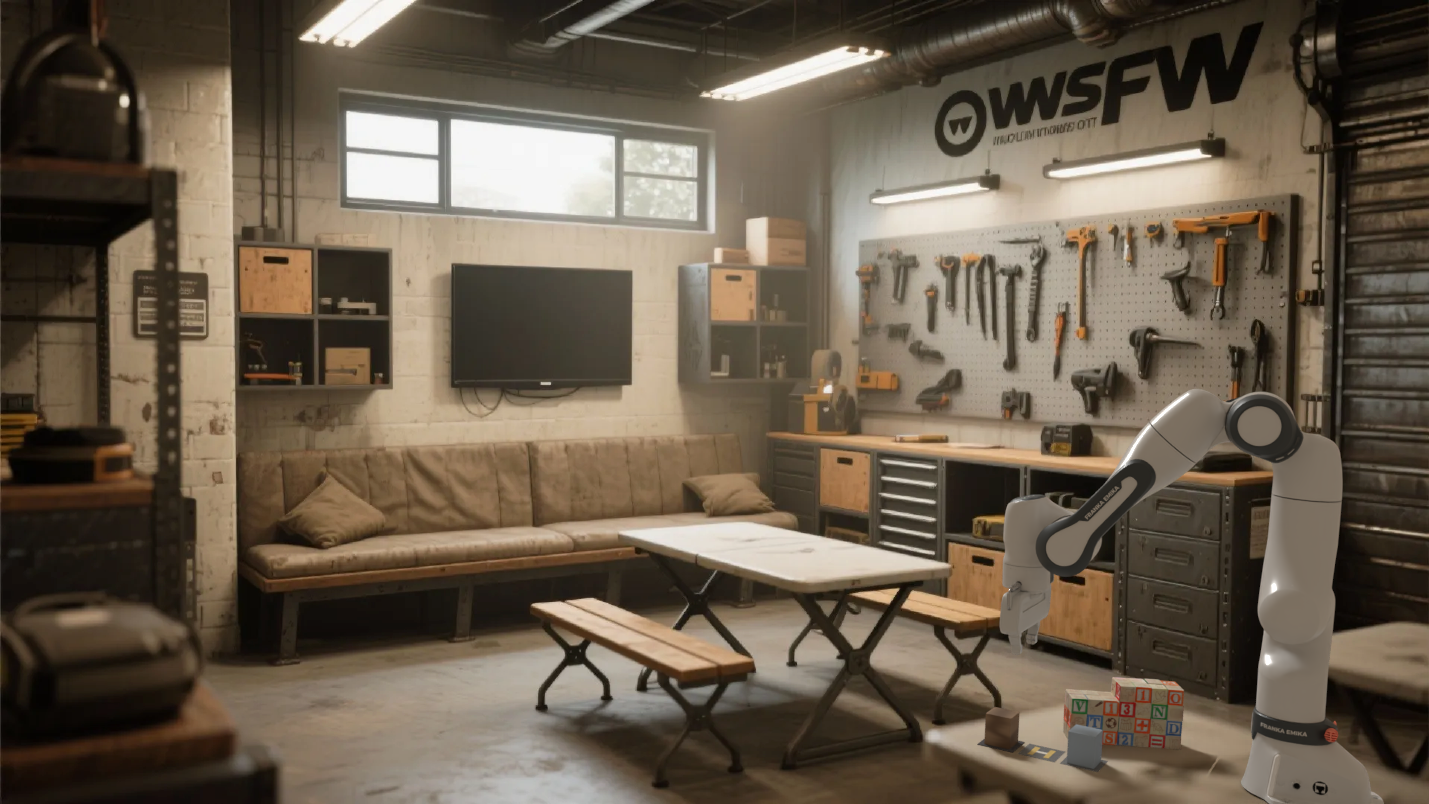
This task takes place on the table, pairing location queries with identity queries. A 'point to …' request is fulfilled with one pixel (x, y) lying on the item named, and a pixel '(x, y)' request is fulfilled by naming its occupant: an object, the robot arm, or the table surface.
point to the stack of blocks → (1130, 712)
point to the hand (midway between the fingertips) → (1024, 648)
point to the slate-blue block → (1084, 746)
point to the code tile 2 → (1086, 767)
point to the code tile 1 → (1041, 752)
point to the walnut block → (1001, 728)
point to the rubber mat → (1002, 748)
